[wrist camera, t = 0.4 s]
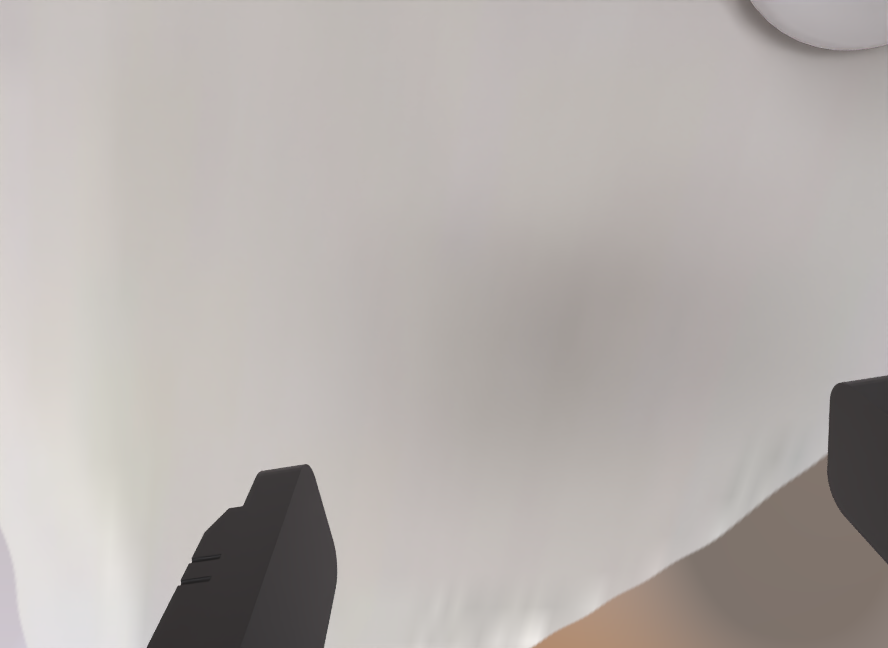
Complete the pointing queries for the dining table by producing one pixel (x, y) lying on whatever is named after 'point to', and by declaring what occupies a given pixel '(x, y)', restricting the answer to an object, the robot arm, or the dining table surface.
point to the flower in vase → (829, 21)
